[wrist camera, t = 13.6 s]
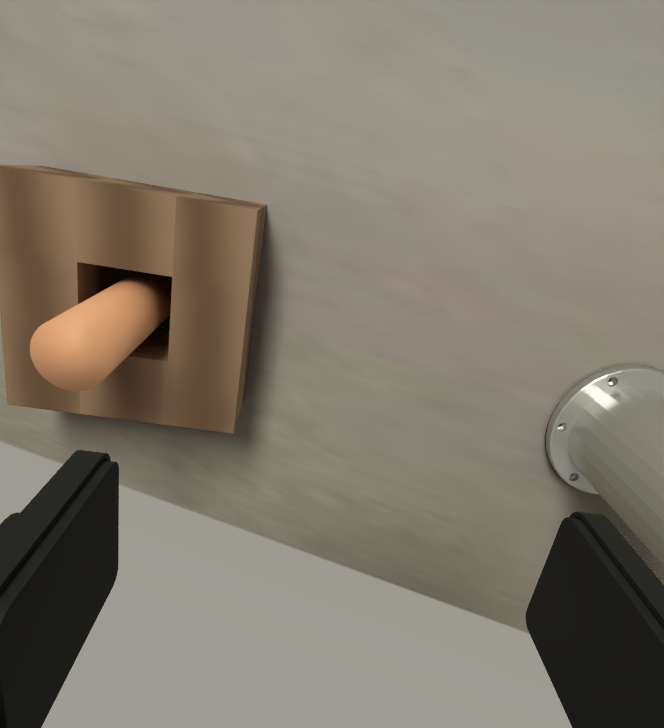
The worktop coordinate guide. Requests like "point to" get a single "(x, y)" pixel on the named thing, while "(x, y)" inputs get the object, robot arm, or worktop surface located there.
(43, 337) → the peg
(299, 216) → the worktop surface
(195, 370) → the socket block
